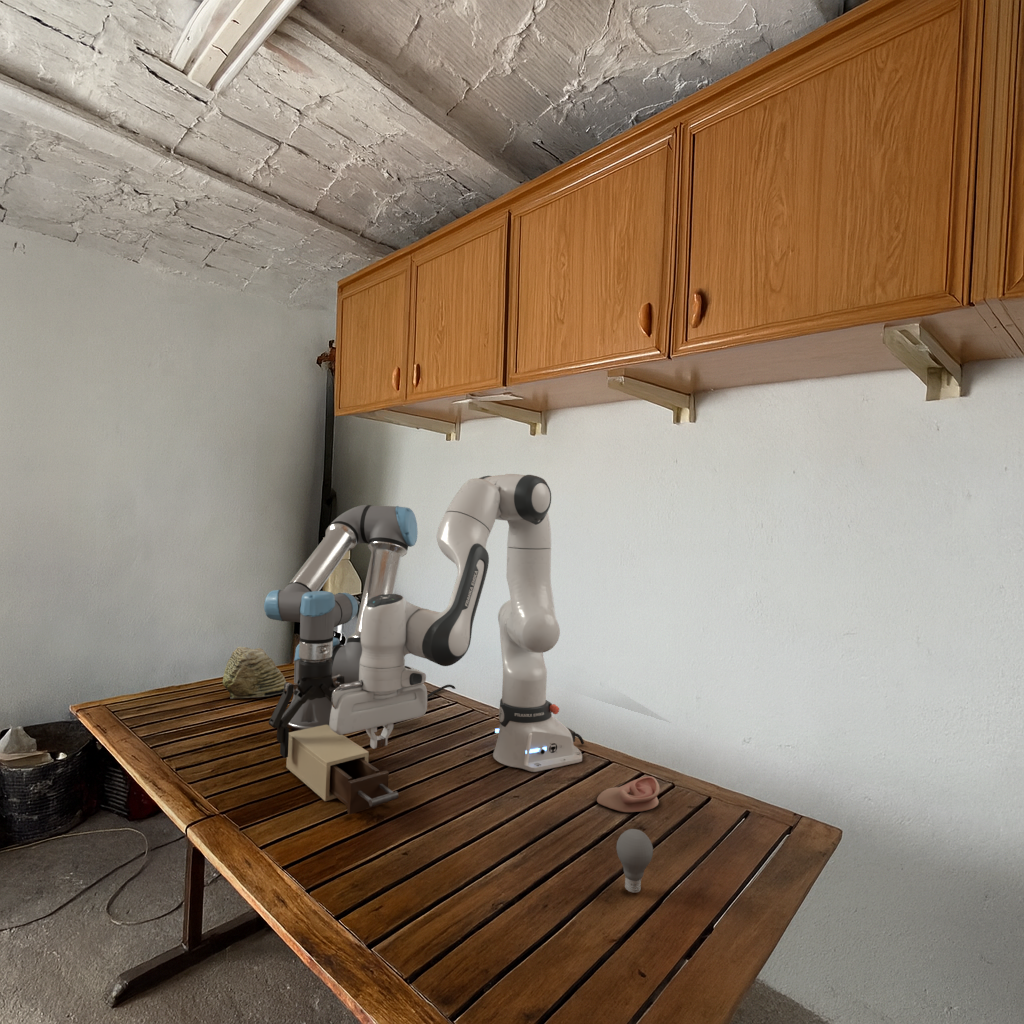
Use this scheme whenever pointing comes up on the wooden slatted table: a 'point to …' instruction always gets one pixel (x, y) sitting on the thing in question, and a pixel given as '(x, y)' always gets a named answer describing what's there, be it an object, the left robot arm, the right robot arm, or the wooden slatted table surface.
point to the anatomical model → (632, 795)
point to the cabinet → (320, 756)
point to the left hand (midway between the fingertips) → (312, 748)
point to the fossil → (252, 674)
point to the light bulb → (634, 857)
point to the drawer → (360, 785)
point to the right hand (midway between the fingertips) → (378, 746)
